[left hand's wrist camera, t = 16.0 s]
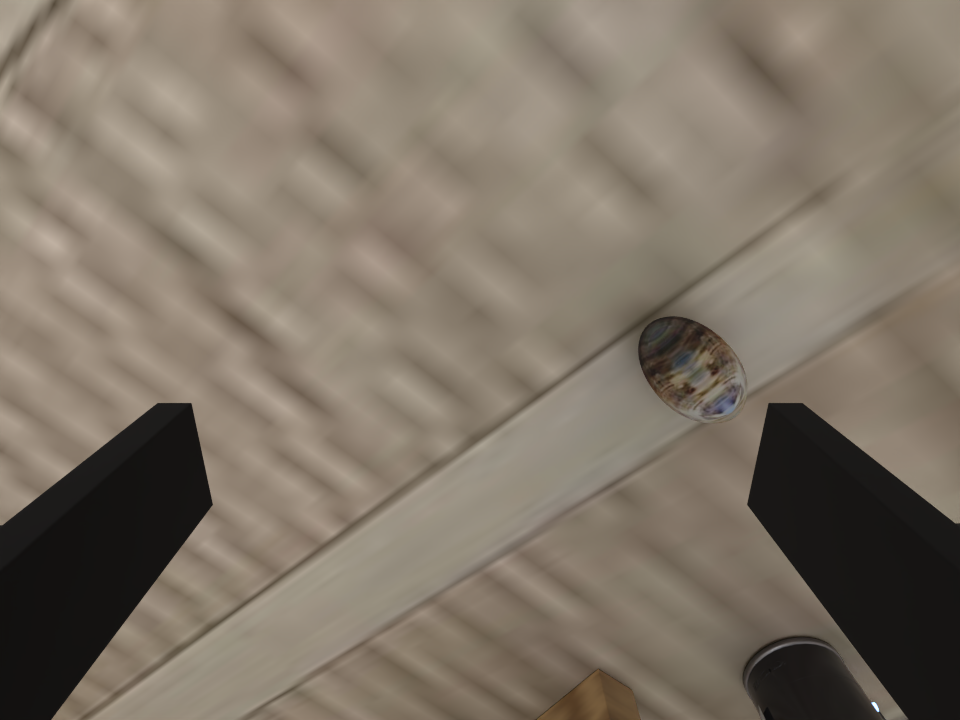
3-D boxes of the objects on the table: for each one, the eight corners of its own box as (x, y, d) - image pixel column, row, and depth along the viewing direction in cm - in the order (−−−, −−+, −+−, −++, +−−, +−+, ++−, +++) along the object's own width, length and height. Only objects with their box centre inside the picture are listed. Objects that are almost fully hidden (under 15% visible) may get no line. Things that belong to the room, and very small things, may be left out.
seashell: (742, 368, 42) (799, 415, 34) (682, 415, 43) (725, 471, 36) (665, 282, 39) (708, 313, 32) (604, 335, 41) (632, 377, 33)
